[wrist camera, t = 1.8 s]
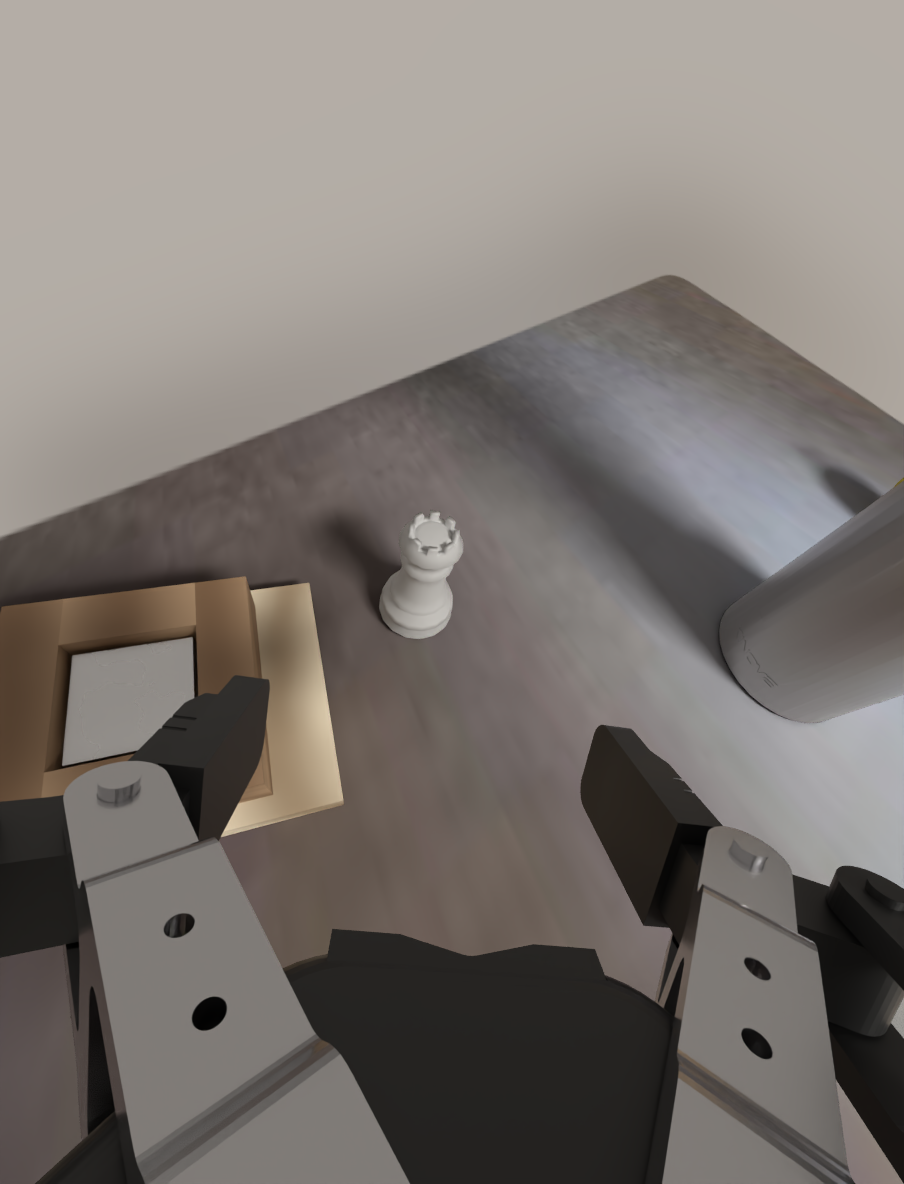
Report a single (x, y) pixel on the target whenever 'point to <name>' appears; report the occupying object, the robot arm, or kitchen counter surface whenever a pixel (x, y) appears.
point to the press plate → (125, 697)
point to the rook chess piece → (422, 577)
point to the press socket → (224, 649)
